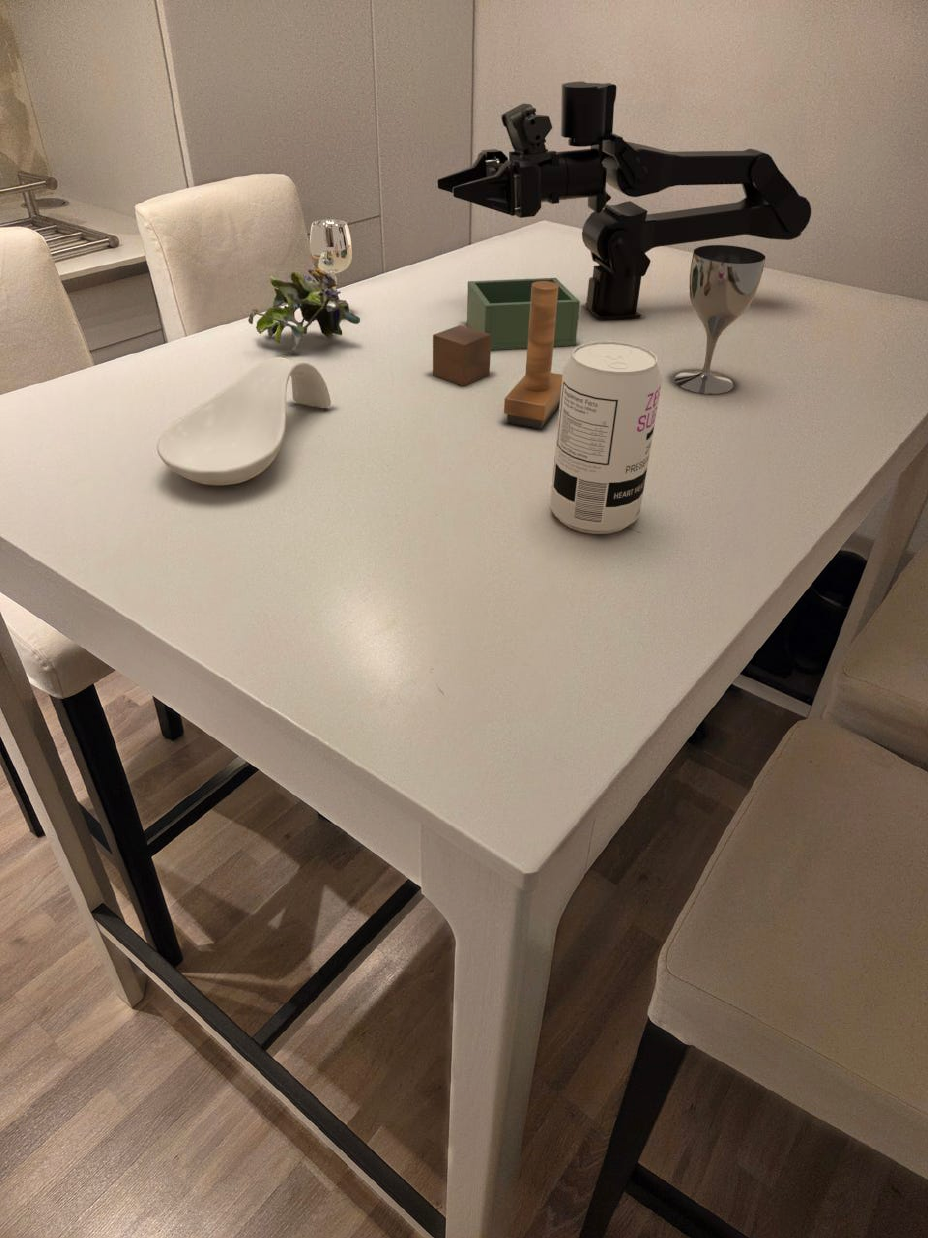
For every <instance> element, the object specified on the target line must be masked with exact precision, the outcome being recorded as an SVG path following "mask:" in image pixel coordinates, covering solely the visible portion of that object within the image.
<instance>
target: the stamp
mask: <svg viewBox="0 0 928 1238" xmlns="http://www.w3.org/2000/svg"><path fill="white" fill-rule="evenodd" d="M558 288H559V286H558V284H556V283H554V282H549V281H538V282H534V283H532V287H531V301H530V316H529V330H528V345H527V348H526V359H525V360H526V361H525V373H524V376H523V377H522V378H521V379H520V380H519V381H518V383H517V384H516V385H515V386H514V387H513V388H512V389H511V390H510V392H509V393H508V394H506V396H505V398H504V400H503V401H504V403H503V414H504V415H507V416H506V424H509V425H510V424H511V425H516V426H521V427H527V428H531V429H532V428H533V429H538V430H543V428H544V426H545V425H546V424H547V422H549V421H548V420H549V419H550V418H551V417H552V415H553V414H554V412H555V411H556V409H557V408H558V407H560V396H561V386H562V376H563V374H562V373H561V374H560V373H554V372H552V366H553V356H554V355H553V353H554V347H553V345H554V333H555V322H556V311H557V299H558Z"/></svg>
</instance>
